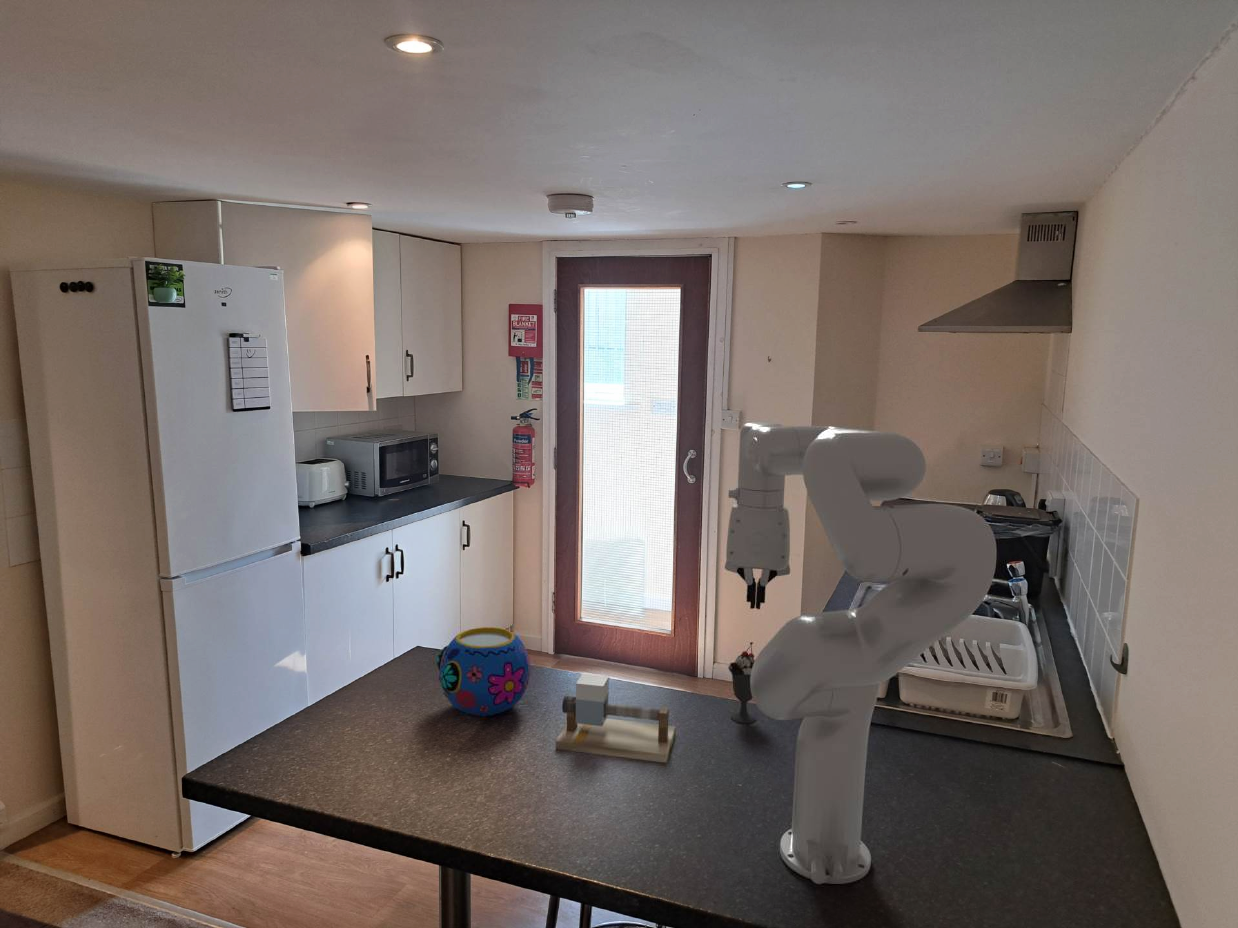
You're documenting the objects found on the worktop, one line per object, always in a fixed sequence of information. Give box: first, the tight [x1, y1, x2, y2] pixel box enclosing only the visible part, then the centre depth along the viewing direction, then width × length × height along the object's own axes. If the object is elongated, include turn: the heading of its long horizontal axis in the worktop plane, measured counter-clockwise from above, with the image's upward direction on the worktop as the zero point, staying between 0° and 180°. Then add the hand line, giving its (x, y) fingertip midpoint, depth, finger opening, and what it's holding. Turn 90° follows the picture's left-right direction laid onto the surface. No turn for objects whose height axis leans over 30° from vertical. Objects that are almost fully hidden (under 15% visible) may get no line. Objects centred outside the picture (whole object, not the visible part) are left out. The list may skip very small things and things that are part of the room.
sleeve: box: [575, 673, 610, 726], centre depth 150 cm, size 5×5×8 cm
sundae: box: [727, 641, 757, 725], centre depth 159 cm, size 7×7×15 cm
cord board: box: [555, 695, 676, 764], centre depth 149 cm, size 11×20×8 cm, turn 78°
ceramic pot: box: [436, 626, 532, 716], centre depth 161 cm, size 18×18×15 cm
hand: (755, 606), depth 136 cm, fingers closed
